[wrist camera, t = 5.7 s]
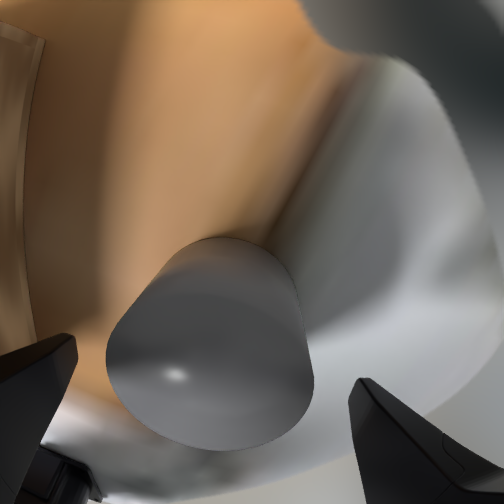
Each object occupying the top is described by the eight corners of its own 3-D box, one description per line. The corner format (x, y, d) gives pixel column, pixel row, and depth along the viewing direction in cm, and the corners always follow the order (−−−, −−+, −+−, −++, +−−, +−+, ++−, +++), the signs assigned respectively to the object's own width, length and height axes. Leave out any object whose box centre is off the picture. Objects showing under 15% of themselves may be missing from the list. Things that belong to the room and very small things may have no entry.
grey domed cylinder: (296, 363, 14) (307, 449, 9) (168, 364, 14) (136, 442, 9) (297, 234, 12) (319, 288, 7) (144, 241, 12) (82, 292, 7)
